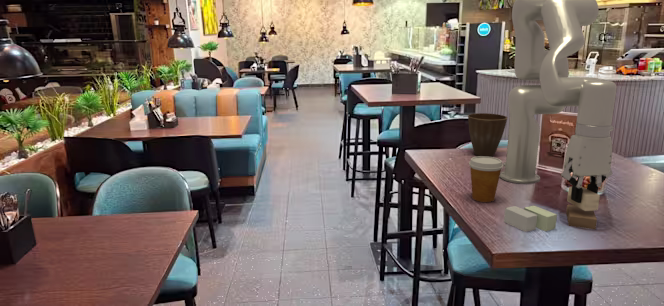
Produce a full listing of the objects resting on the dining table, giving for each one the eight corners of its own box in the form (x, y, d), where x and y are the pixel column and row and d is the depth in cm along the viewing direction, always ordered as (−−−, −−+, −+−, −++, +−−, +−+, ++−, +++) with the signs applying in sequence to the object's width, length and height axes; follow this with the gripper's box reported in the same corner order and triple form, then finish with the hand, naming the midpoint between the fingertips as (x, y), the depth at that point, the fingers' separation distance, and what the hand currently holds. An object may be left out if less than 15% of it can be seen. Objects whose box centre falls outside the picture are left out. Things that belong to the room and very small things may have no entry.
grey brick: (503, 222, 116) (505, 208, 115) (513, 220, 118) (515, 205, 117) (525, 232, 110) (527, 217, 109) (535, 229, 112) (537, 215, 111)
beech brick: (566, 201, 118) (568, 186, 117) (579, 200, 119) (580, 186, 118) (585, 211, 112) (587, 196, 111) (597, 210, 112) (599, 195, 111)
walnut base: (565, 214, 121) (567, 204, 121) (591, 217, 119) (592, 207, 118) (568, 227, 113) (569, 216, 113) (595, 231, 111) (597, 219, 110)
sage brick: (522, 222, 117) (524, 207, 116) (532, 219, 118) (533, 205, 117) (545, 232, 110) (547, 217, 109) (555, 229, 112) (557, 214, 111)
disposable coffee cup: (499, 195, 136) (503, 157, 133) (500, 205, 127) (503, 165, 124) (467, 191, 139) (469, 154, 136) (465, 202, 130) (468, 163, 127)
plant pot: (509, 154, 183) (513, 115, 179) (495, 161, 172) (498, 121, 168) (474, 148, 192) (477, 112, 188) (459, 155, 182) (461, 116, 178)
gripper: (611, 126, 115) (601, 194, 119) (552, 129, 113) (544, 197, 117) (634, 132, 108) (623, 203, 112) (572, 135, 105) (563, 208, 110)
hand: (583, 200), depth 115 cm, fingers closed on beech brick, 3 cm apart
